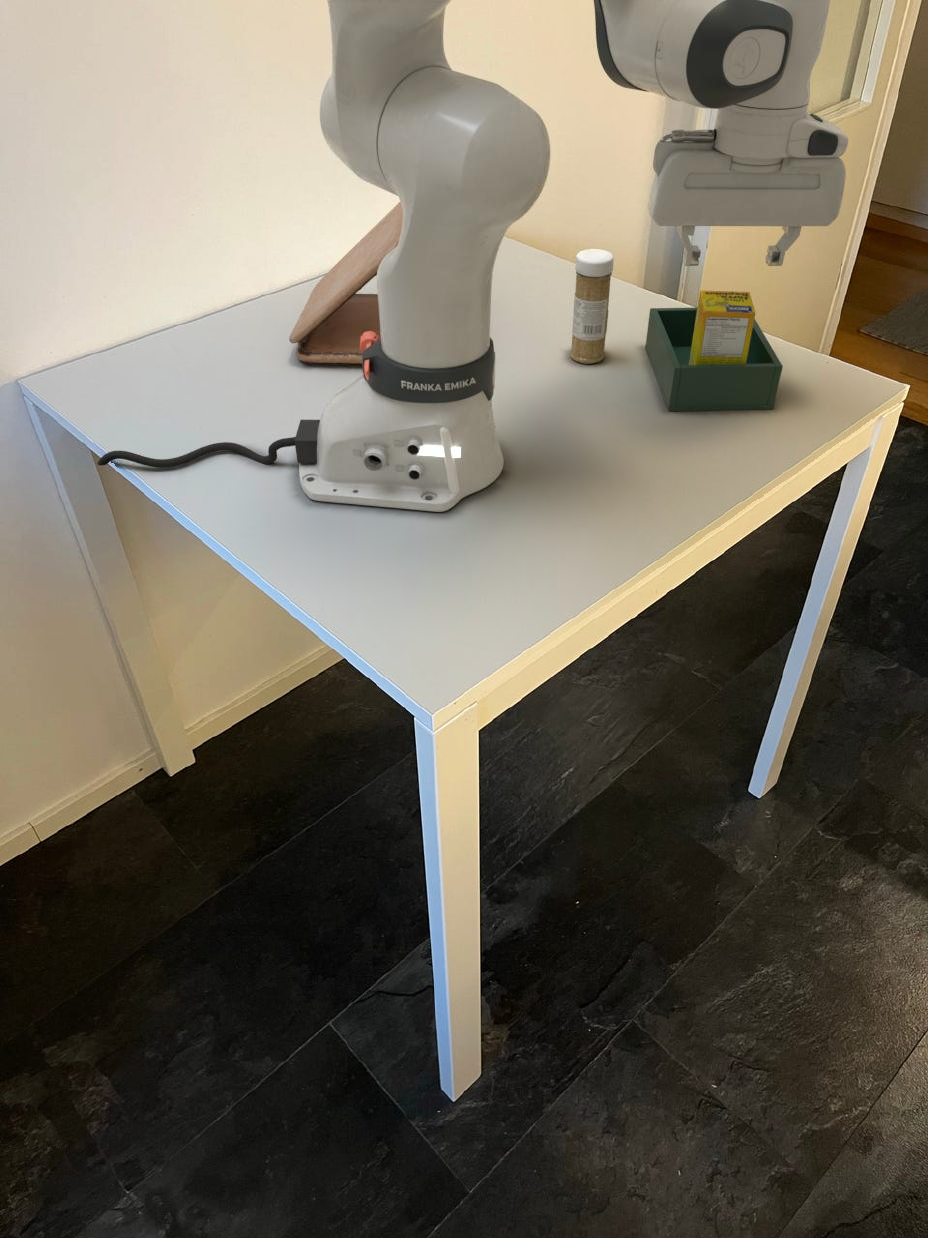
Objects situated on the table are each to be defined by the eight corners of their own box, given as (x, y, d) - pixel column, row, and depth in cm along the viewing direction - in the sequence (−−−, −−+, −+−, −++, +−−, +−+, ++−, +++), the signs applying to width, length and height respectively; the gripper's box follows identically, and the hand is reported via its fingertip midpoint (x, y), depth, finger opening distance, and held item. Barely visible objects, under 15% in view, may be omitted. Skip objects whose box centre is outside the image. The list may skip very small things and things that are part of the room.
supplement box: (734, 375, 120) (750, 290, 113) (739, 398, 115) (757, 311, 108) (686, 373, 120) (699, 288, 113) (689, 396, 116) (703, 310, 109)
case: (318, 301, 139) (305, 185, 129) (462, 304, 138) (460, 188, 127) (286, 366, 124) (268, 241, 113) (448, 371, 123) (445, 245, 112)
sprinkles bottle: (606, 350, 126) (616, 248, 118) (601, 366, 123) (611, 262, 114) (572, 347, 127) (579, 245, 118) (566, 363, 124) (573, 259, 115)
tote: (668, 411, 115) (674, 368, 111) (645, 348, 127) (650, 307, 123) (773, 409, 115) (782, 365, 111) (739, 346, 127) (747, 305, 123)
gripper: (663, 137, 96) (644, 274, 105) (864, 138, 96) (829, 274, 106) (652, 121, 101) (635, 253, 110) (844, 122, 101) (811, 253, 110)
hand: (731, 264), depth 108 cm, fingers open, 8 cm apart
